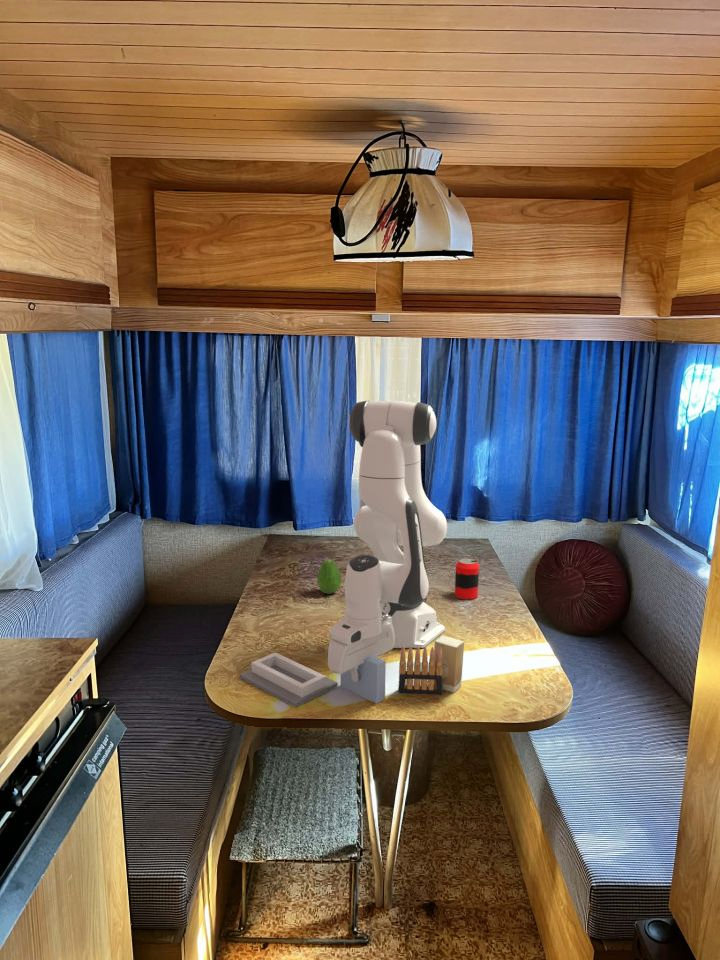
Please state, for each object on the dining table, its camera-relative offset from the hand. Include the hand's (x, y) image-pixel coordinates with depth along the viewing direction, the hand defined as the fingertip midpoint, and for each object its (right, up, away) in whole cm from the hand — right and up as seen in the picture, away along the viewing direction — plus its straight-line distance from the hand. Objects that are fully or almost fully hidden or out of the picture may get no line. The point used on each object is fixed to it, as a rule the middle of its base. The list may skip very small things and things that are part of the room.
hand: (362, 677), depth 176 cm
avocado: (-11, +10, +66) cm, 67 cm away
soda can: (+35, +9, +64) cm, 74 cm away
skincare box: (+21, -4, +4) cm, 22 cm away
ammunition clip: (+14, -4, +1) cm, 15 cm away
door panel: (0, -4, +1) cm, 4 cm away
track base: (-19, -3, +6) cm, 20 cm away
